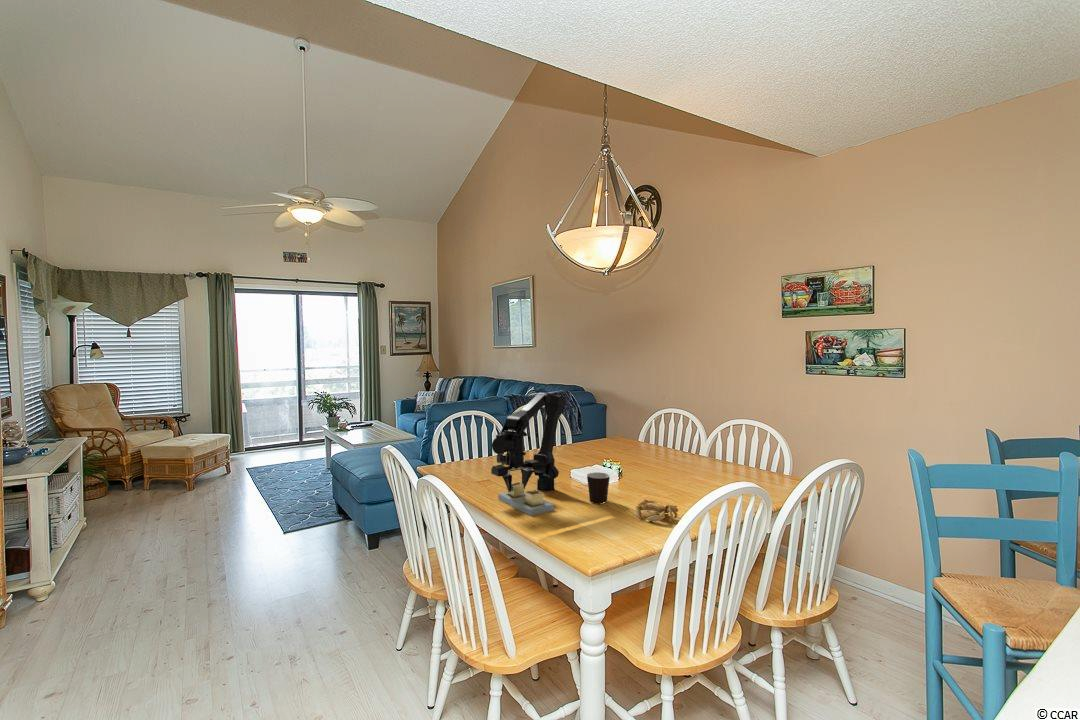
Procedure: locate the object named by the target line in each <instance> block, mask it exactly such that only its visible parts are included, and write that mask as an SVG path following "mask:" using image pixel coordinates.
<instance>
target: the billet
mask: <svg viewBox="0 0 1080 720" xmlns="http://www.w3.org/2000/svg"><path fill="white" fill-rule="evenodd" d="M524 491H525V489H524V486H523V484H522V482H519V481H514V482H512V485H511V492H508V491H507V492H508V496H510V497H512V498H518V497H523V496H524Z"/></svg>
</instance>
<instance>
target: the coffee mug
mask: <svg viewBox="0 0 1080 720" xmlns="http://www.w3.org/2000/svg"><path fill="white" fill-rule="evenodd" d="M610 477H611V475H610V474H608V473H606V472H597V471H596V472H594V471H593V472H590V473H587V474H586V479H587V485H588V486H587V488H588V496H589V497H588V498H589V502H590V501H591V502H593V503H592V504H594V503H603V502H606V501H607V502H608V493H609V485H610V484H609V483H610ZM591 502H590V503H591ZM607 502H606V503H607Z"/></svg>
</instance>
